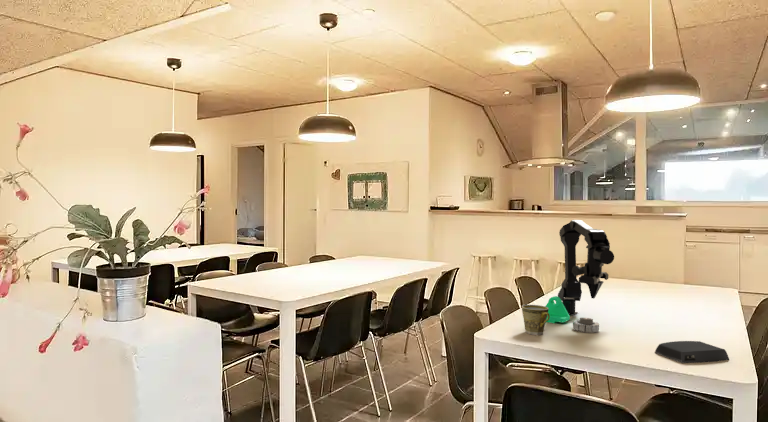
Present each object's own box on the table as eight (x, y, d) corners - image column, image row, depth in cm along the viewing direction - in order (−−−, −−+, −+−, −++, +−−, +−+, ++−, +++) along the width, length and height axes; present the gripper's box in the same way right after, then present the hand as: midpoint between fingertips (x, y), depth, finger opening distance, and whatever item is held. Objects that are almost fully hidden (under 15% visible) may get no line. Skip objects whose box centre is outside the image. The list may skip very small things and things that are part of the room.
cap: (581, 326, 212) (581, 316, 212) (594, 328, 209) (594, 318, 208) (577, 329, 208) (577, 318, 208) (590, 331, 205) (590, 320, 205)
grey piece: (577, 325, 215) (577, 318, 215) (601, 329, 209) (601, 322, 209) (569, 329, 207) (569, 322, 207) (594, 334, 202) (594, 326, 201)
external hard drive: (652, 353, 179) (652, 341, 179) (698, 350, 184) (698, 339, 184) (683, 365, 166) (683, 352, 166) (731, 362, 171) (732, 349, 171)
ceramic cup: (515, 330, 204) (516, 305, 204) (536, 328, 208) (536, 303, 208) (537, 339, 192) (538, 312, 192) (559, 337, 196) (559, 310, 196)
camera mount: (535, 320, 224) (536, 296, 224) (542, 317, 230) (543, 294, 230) (562, 325, 216) (563, 300, 216) (569, 322, 222) (570, 298, 222)
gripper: (582, 256, 227) (581, 292, 227) (566, 260, 212) (565, 298, 213) (609, 259, 220) (607, 296, 220) (594, 263, 205) (592, 302, 206)
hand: (592, 298), depth 215 cm, fingers closed
